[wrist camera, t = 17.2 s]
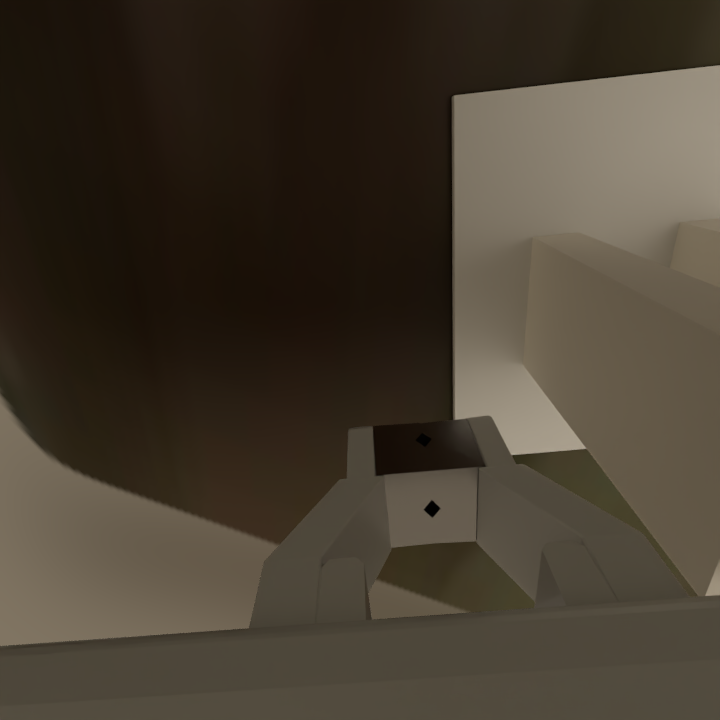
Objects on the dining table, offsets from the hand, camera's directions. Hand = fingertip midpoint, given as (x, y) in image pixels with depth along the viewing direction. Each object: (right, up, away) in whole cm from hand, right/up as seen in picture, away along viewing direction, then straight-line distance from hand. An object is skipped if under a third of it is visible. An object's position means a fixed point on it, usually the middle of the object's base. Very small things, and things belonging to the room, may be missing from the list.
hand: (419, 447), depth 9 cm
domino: (+6, +4, +7) cm, 10 cm away
